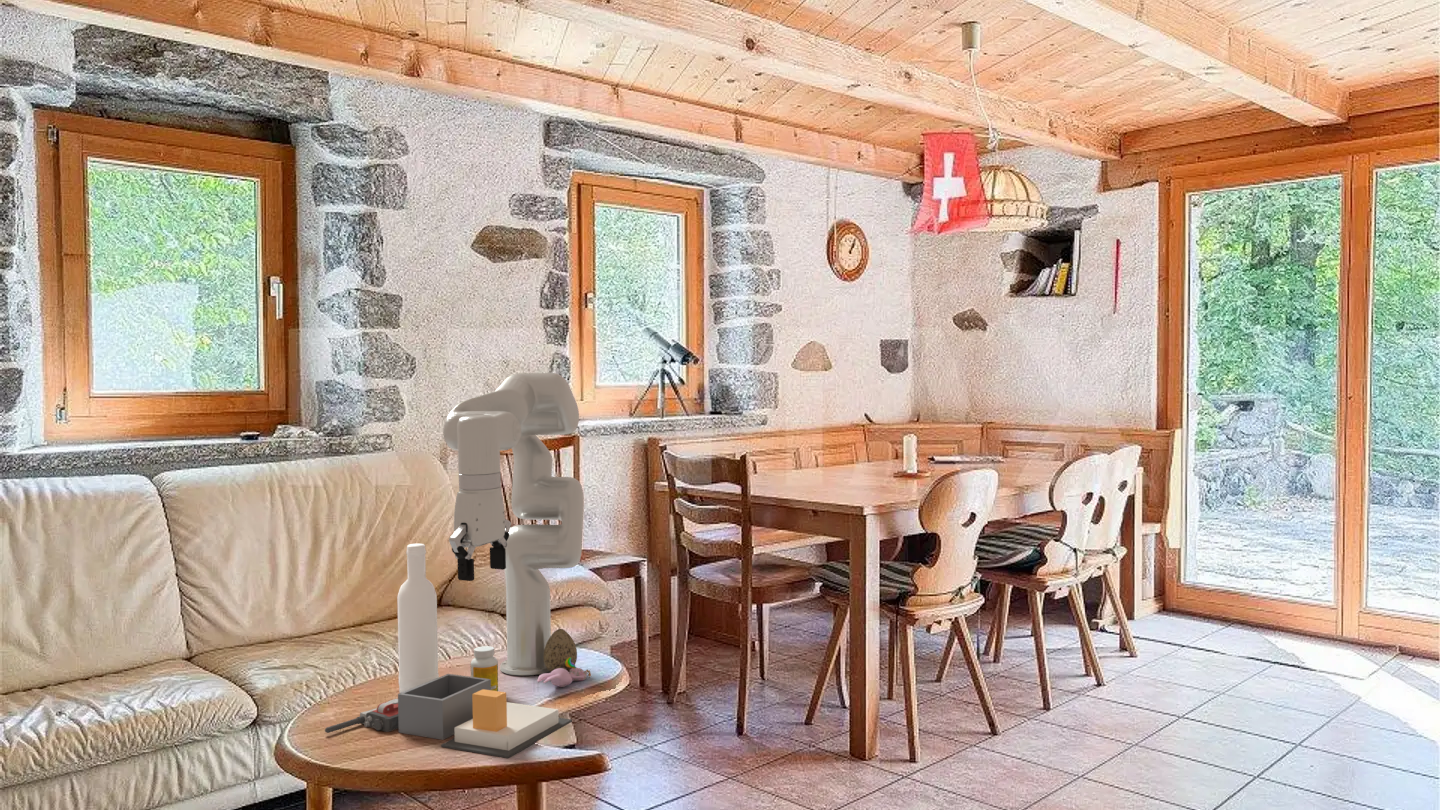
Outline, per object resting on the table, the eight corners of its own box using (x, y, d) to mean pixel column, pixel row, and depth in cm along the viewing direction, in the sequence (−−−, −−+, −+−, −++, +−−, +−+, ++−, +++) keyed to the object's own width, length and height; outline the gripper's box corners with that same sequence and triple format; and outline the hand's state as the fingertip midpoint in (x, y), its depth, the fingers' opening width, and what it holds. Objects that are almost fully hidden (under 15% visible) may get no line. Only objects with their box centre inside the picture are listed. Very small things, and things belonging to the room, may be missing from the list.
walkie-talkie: (413, 707, 205) (321, 737, 189) (412, 685, 205) (321, 712, 188) (442, 715, 200) (351, 746, 183) (442, 692, 200) (350, 721, 183)
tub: (448, 709, 202) (448, 673, 202) (491, 716, 198) (490, 679, 198) (398, 732, 189) (397, 694, 189) (443, 739, 185) (442, 700, 185)
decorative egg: (541, 672, 227) (541, 626, 227) (573, 669, 229) (573, 623, 229) (546, 681, 220) (546, 634, 220) (579, 678, 222) (579, 631, 222)
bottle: (432, 695, 211) (429, 547, 210) (393, 696, 211) (390, 548, 210) (443, 684, 219) (440, 541, 218) (406, 684, 219) (403, 541, 218)
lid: (507, 715, 197) (506, 670, 197) (558, 722, 192) (557, 676, 192) (454, 741, 183) (453, 693, 183) (508, 750, 178) (507, 701, 178)
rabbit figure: (572, 681, 225) (527, 688, 212) (575, 653, 226) (530, 658, 213) (596, 685, 222) (552, 692, 209) (598, 656, 222) (554, 662, 210)
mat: (509, 712, 200) (509, 710, 200) (572, 721, 194) (572, 719, 194) (441, 746, 182) (441, 744, 182) (507, 758, 176) (507, 755, 176)
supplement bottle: (466, 695, 211) (465, 648, 211) (490, 690, 215) (489, 643, 214) (478, 701, 207) (477, 653, 207) (503, 696, 210) (502, 648, 210)
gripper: (490, 475, 202) (493, 563, 203) (432, 488, 186) (435, 583, 187) (523, 477, 199) (526, 566, 200) (467, 490, 183) (470, 586, 184)
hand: (482, 574), depth 193 cm, fingers open, 9 cm apart
